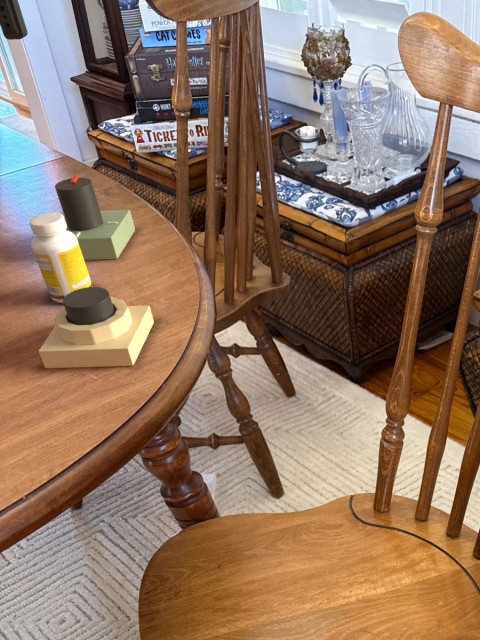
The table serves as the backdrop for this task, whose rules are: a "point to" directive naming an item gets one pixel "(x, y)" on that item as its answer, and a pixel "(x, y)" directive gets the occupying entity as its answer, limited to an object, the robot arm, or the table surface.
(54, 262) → the supplement bottle
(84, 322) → the button
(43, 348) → the button base
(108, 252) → the dial panel
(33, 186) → the table surface
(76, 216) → the dial
